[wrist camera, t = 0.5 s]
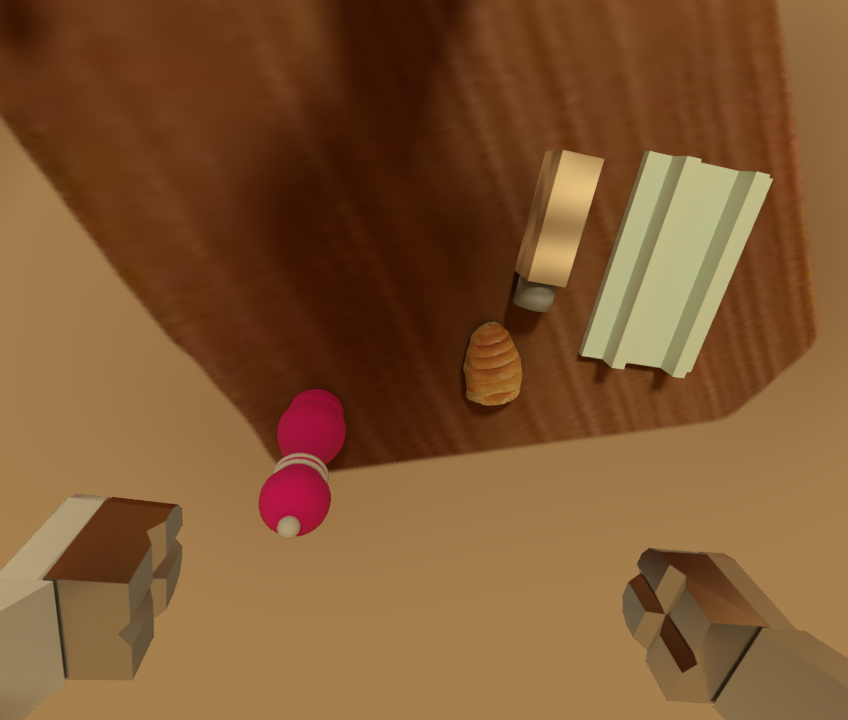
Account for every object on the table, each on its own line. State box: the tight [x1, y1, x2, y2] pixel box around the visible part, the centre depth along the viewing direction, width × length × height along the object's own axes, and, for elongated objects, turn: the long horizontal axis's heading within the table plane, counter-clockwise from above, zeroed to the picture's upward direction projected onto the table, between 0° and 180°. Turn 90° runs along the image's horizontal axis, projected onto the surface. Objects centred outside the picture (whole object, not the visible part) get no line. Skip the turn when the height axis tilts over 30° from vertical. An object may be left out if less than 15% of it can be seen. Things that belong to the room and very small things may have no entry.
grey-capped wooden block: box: [513, 150, 604, 312], centre depth 48 cm, size 15×4×5 cm, turn 169°
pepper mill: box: [259, 389, 346, 539], centre depth 47 cm, size 7×7×20 cm
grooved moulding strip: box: [579, 151, 773, 378], centre depth 51 cm, size 22×14×4 cm, turn 169°
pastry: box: [463, 322, 522, 406], centre depth 54 cm, size 9×7×4 cm
